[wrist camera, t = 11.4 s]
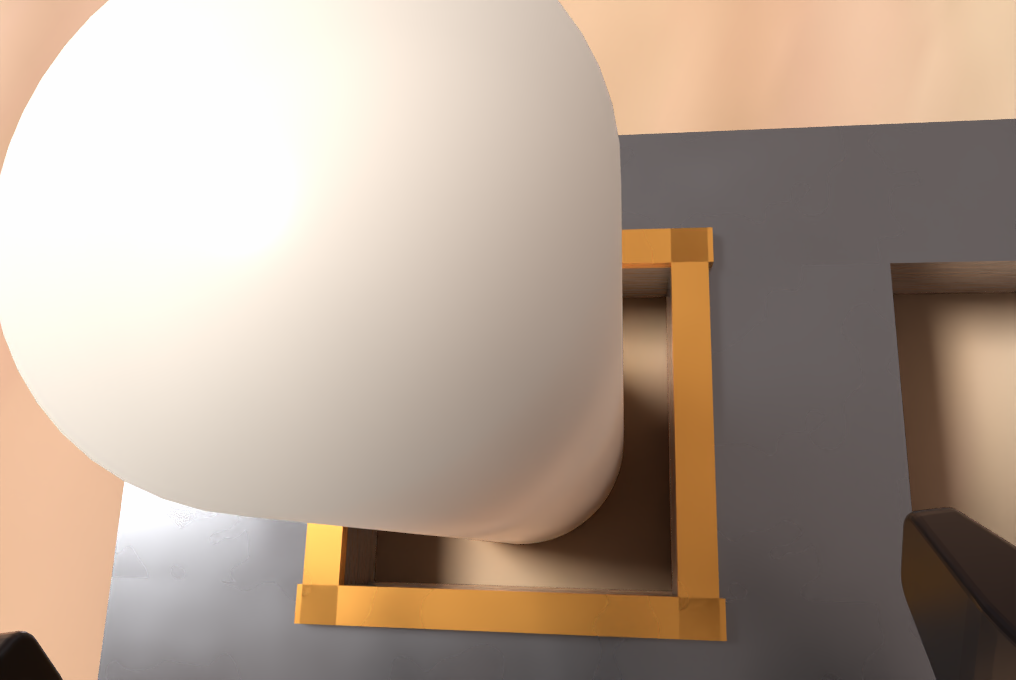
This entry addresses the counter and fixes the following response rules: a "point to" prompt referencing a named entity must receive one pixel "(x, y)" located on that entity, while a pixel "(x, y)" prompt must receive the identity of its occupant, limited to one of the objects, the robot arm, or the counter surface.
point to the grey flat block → (692, 447)
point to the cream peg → (327, 261)
